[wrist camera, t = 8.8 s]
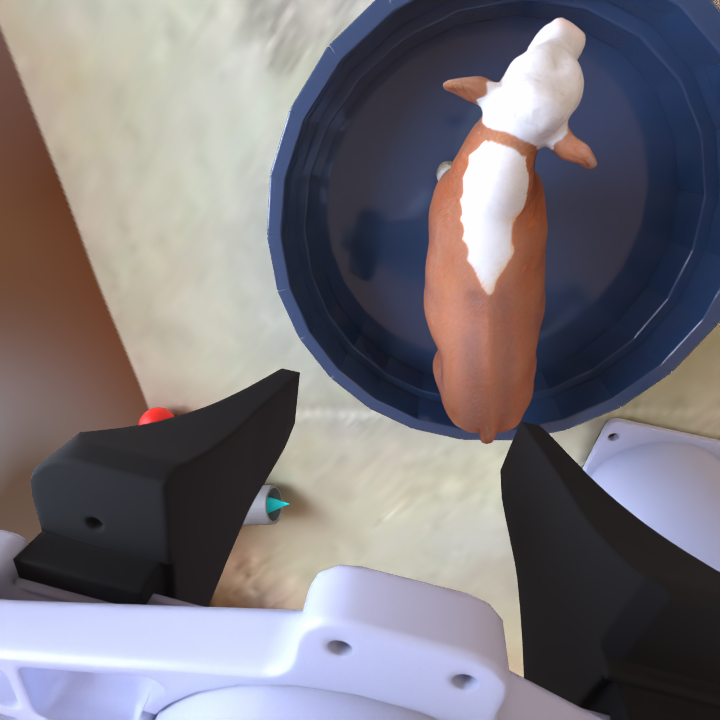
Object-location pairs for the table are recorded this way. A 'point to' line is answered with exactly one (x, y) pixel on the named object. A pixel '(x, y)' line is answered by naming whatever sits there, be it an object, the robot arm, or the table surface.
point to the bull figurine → (499, 233)
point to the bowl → (560, 184)
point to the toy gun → (266, 501)
